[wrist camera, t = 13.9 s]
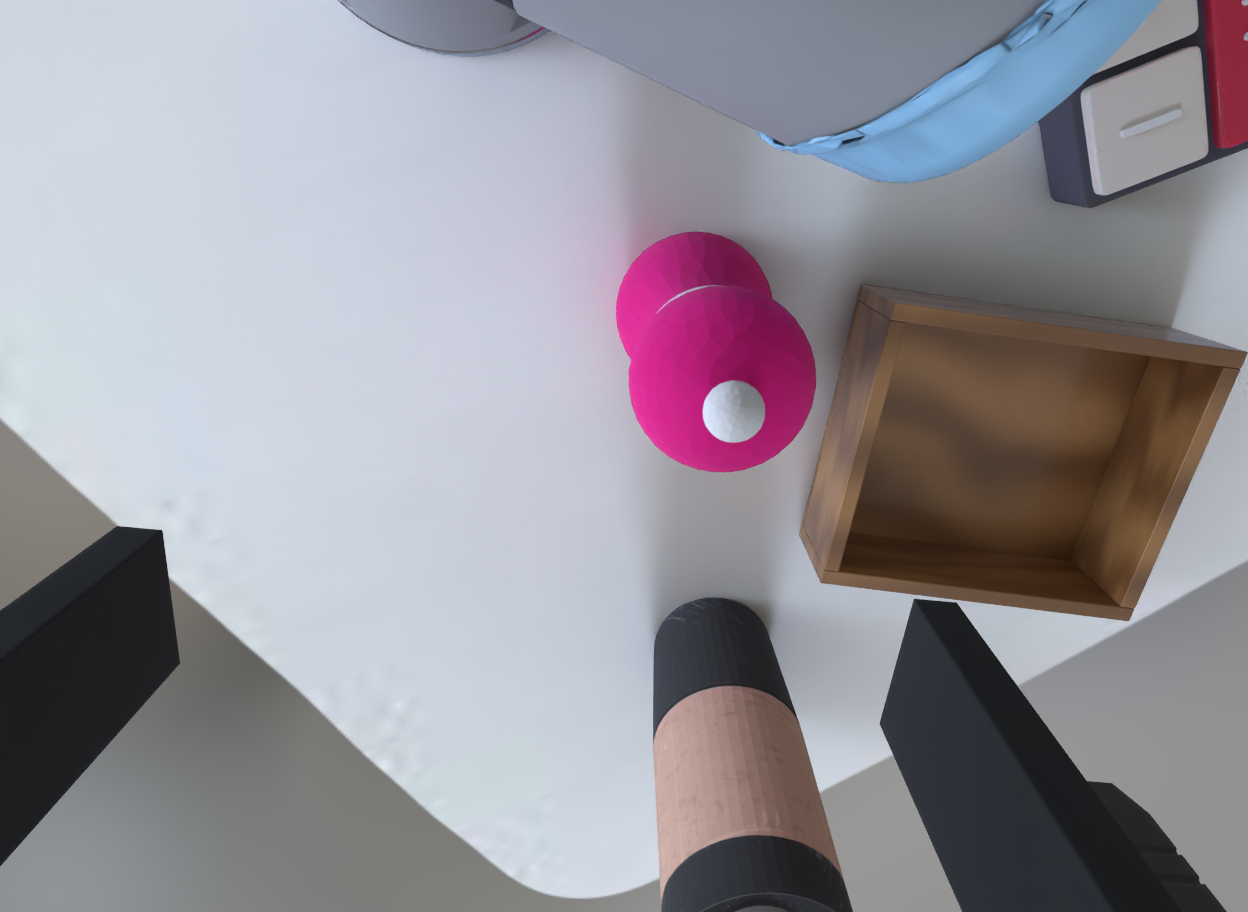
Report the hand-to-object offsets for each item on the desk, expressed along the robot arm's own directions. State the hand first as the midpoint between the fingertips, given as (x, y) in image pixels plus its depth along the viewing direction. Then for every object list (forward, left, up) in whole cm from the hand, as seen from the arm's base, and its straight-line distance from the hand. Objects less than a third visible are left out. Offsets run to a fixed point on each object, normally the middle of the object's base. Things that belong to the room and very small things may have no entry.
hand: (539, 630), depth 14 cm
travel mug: (+19, +9, -29) cm, 36 cm away
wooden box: (+4, +21, -28) cm, 36 cm away
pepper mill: (-2, +4, -29) cm, 29 cm away
